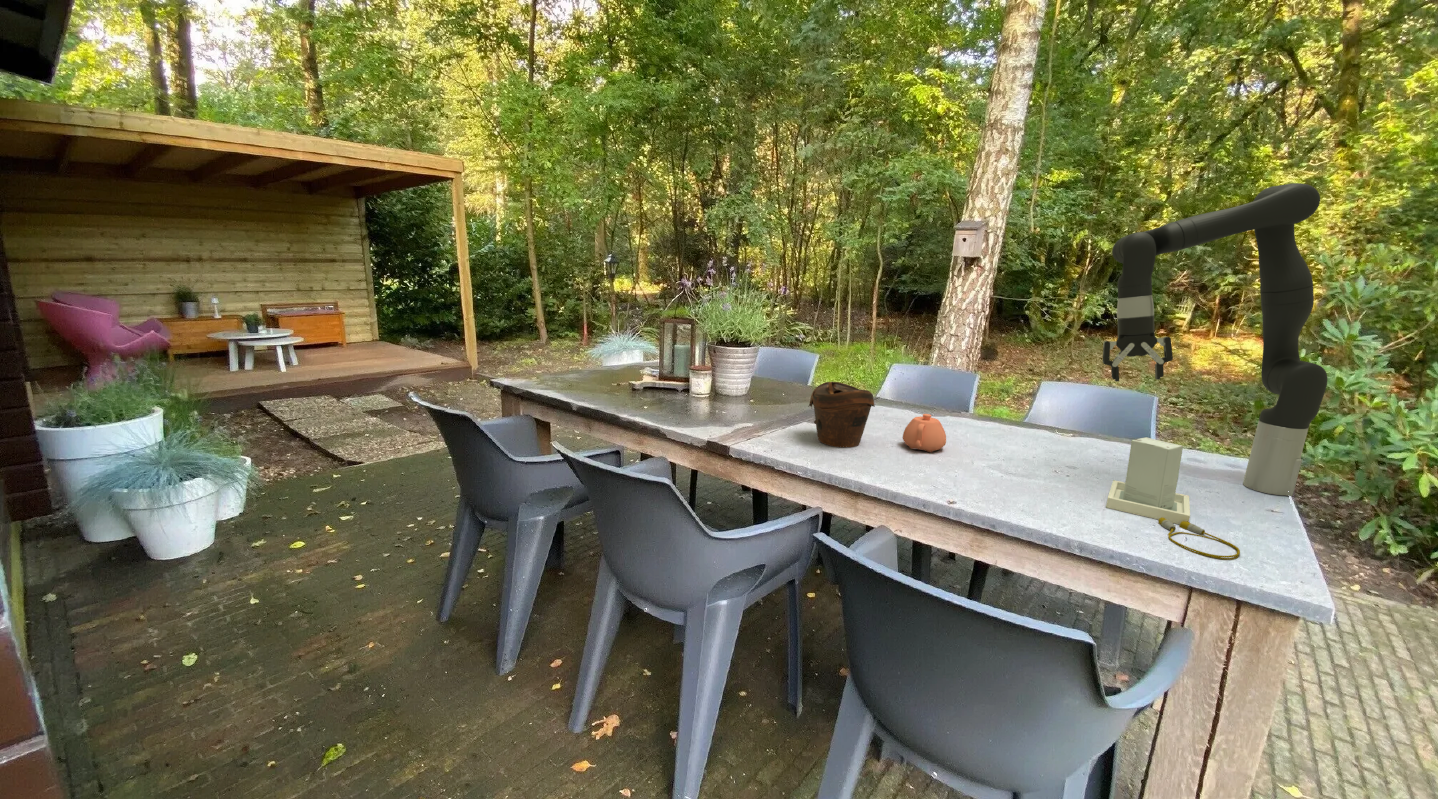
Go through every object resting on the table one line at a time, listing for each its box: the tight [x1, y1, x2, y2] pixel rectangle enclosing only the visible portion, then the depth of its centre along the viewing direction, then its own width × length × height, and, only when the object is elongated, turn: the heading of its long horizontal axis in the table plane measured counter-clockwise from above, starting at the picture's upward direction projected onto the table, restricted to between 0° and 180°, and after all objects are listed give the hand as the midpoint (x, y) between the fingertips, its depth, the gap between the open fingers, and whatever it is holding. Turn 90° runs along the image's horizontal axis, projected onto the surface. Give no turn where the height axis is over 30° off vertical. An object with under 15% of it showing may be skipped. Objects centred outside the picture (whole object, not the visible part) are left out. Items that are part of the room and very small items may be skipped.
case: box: [808, 381, 875, 448], centre depth 179 cm, size 18×20×18 cm
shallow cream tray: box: [1105, 479, 1191, 525], centre depth 139 cm, size 15×15×2 cm
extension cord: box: [1157, 517, 1241, 561], centre depth 122 cm, size 12×16×2 cm
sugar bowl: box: [902, 413, 947, 453], centre depth 176 cm, size 12×14×10 cm
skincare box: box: [1123, 436, 1184, 509], centre depth 137 cm, size 8×6×15 cm
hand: (1137, 380), depth 150 cm, fingers open, 8 cm apart
